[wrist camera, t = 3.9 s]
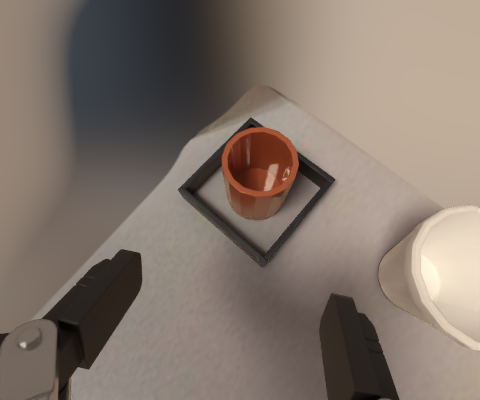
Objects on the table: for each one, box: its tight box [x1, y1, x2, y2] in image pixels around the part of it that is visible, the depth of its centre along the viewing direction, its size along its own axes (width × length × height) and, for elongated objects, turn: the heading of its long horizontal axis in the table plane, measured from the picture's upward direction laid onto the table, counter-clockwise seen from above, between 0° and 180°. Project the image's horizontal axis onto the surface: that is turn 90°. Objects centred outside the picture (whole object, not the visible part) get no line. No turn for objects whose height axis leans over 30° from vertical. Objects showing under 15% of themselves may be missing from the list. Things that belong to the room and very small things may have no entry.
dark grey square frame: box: [178, 118, 335, 267], centre depth 29 cm, size 12×12×2 cm
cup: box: [378, 205, 480, 351], centre depth 22 cm, size 10×10×9 cm
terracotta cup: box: [222, 127, 299, 220], centre depth 26 cm, size 6×6×8 cm
